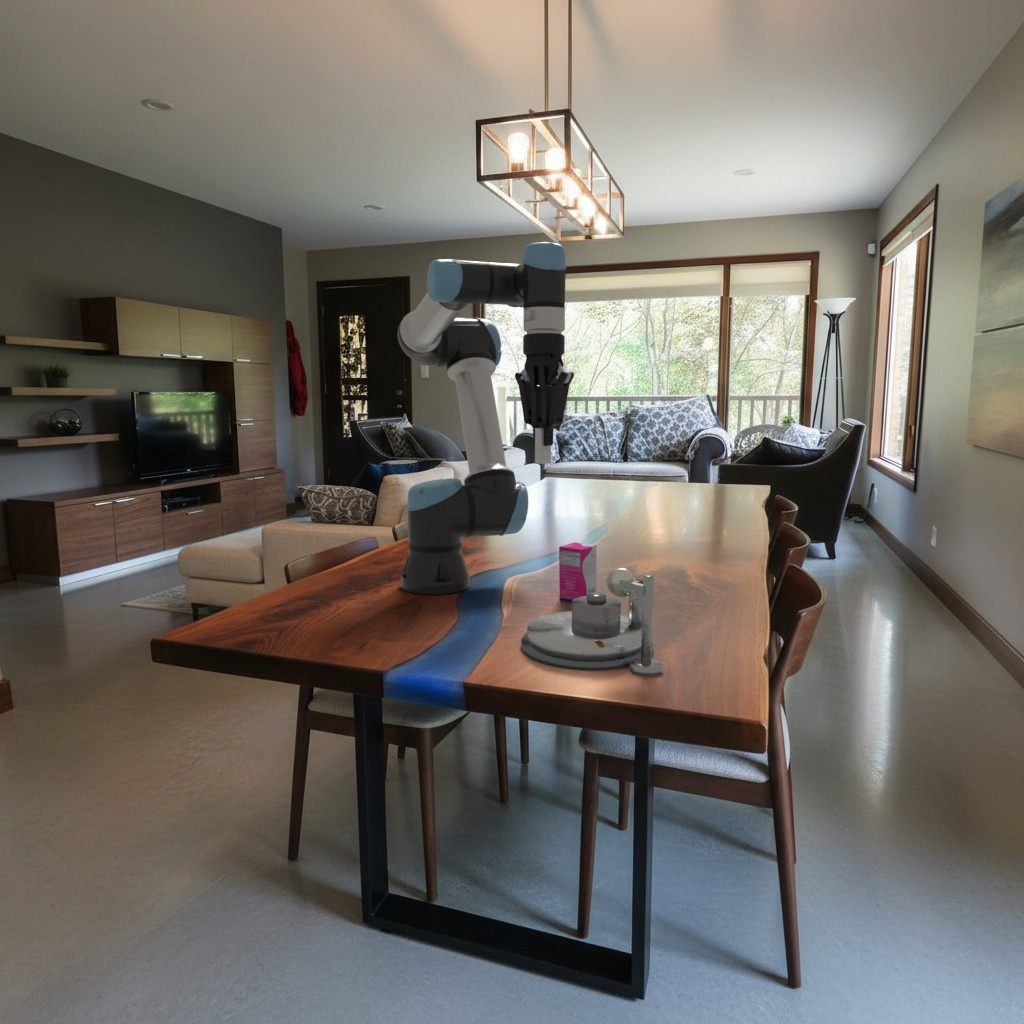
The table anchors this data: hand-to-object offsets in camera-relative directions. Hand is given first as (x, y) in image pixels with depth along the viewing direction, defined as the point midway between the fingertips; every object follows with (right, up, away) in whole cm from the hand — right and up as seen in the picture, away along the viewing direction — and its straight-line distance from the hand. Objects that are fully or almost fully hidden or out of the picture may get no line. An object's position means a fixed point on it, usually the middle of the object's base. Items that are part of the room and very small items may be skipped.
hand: (542, 463), depth 140 cm
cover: (+8, -29, -15) cm, 34 cm away
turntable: (+7, -31, -13) cm, 34 cm away
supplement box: (+8, -27, +16) cm, 33 cm away
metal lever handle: (+13, -33, -23) cm, 42 cm away
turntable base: (+7, -32, -13) cm, 35 cm away
